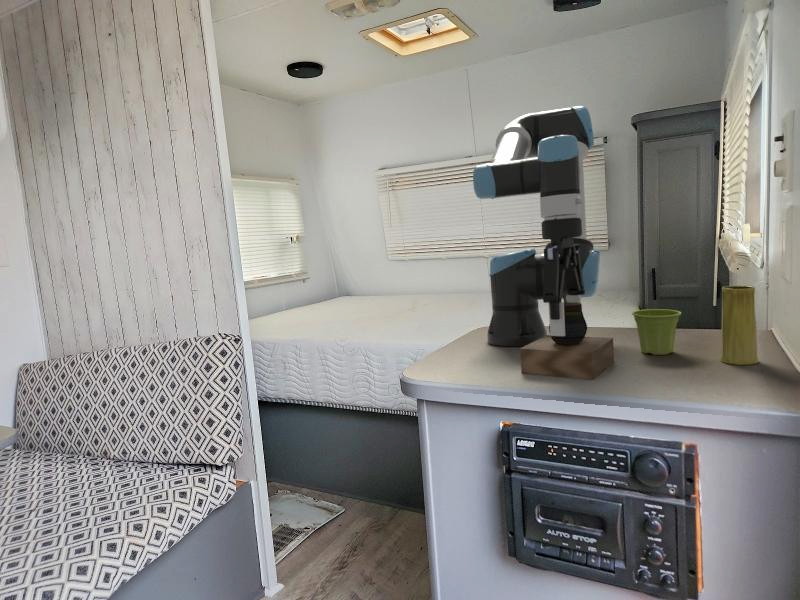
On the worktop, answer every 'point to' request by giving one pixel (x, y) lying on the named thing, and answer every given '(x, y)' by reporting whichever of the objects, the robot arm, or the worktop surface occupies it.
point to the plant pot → (656, 330)
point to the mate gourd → (572, 324)
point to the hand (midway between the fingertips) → (566, 330)
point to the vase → (738, 326)
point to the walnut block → (567, 357)
